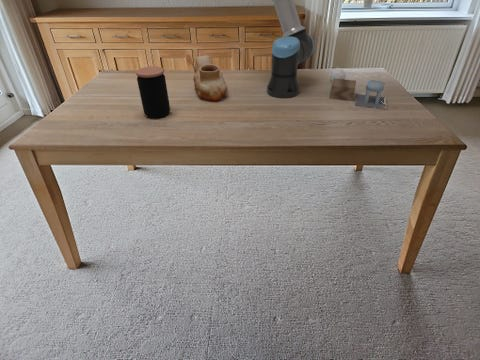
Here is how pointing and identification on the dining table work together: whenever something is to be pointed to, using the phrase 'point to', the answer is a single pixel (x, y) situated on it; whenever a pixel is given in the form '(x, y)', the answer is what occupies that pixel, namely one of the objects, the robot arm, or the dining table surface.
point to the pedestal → (342, 89)
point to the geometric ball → (337, 74)
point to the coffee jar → (153, 92)
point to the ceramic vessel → (208, 80)
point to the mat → (369, 101)
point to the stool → (374, 89)
